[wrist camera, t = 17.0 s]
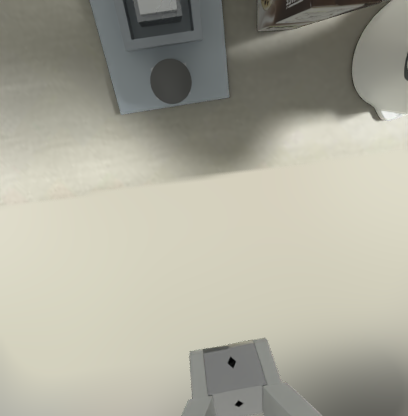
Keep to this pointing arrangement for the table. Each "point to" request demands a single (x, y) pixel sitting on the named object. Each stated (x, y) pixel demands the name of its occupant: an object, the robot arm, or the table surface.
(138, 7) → the grey rectangular block
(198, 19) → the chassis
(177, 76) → the dark grey round knob
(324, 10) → the coffee box
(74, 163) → the table surface
